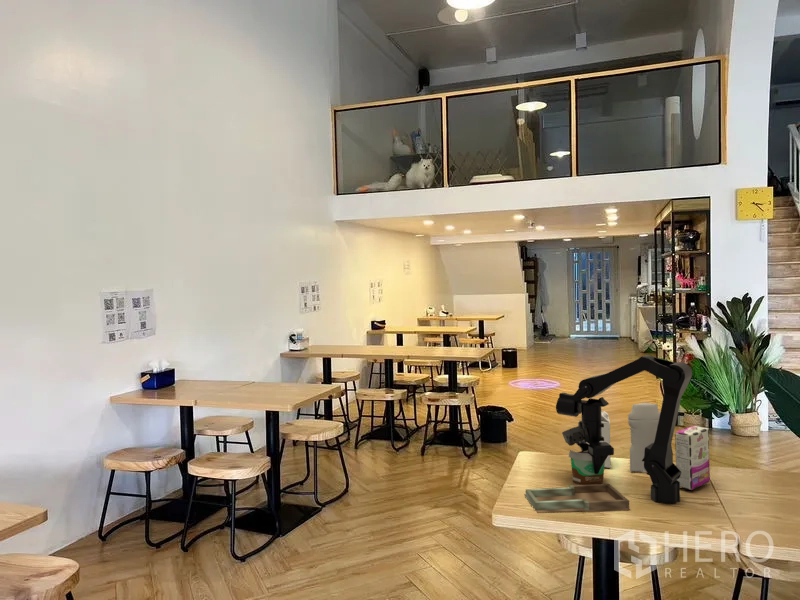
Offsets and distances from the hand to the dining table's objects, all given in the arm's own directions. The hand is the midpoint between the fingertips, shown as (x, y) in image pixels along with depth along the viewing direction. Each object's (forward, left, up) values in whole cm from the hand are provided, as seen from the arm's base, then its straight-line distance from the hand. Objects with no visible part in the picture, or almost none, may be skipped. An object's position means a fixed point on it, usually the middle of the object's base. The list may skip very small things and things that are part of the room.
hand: (591, 469), depth 174 cm
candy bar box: (-29, +4, -4) cm, 30 cm away
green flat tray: (+9, +14, -4) cm, 17 cm away
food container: (0, 0, -4) cm, 4 cm away
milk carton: (-9, -17, -4) cm, 20 cm away
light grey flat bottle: (-21, -9, -4) cm, 23 cm away
